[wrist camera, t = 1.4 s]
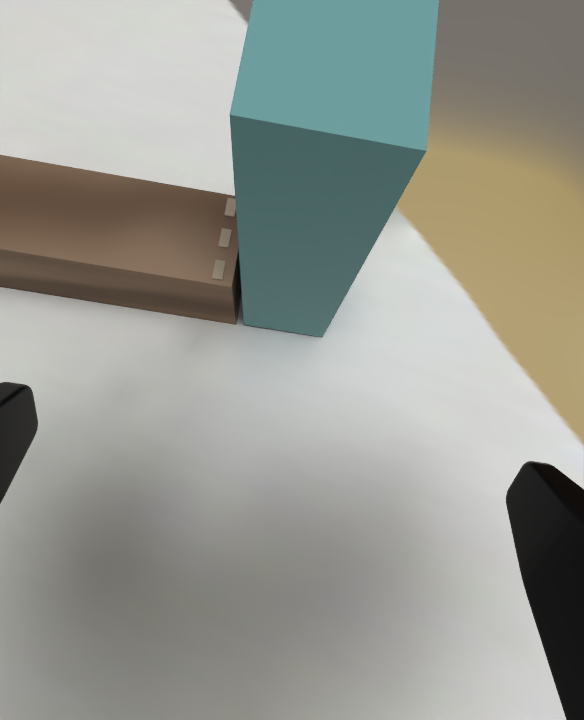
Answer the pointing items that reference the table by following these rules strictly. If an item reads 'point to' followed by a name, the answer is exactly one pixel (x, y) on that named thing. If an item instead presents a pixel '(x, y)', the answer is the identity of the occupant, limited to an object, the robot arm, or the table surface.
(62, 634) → the table surface
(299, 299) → the tall teal pillar
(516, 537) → the robot arm
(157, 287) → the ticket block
